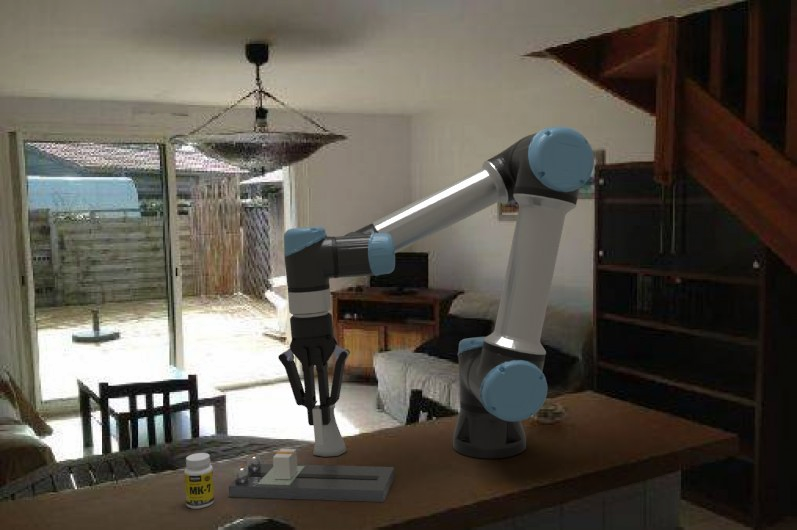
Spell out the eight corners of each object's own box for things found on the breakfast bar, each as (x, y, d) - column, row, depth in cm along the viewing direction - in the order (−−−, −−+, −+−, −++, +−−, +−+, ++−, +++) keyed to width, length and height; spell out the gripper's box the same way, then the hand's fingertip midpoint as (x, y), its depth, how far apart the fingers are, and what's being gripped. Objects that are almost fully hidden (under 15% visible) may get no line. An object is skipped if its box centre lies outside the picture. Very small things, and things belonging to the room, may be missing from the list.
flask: (341, 458, 139) (339, 410, 139) (307, 457, 141) (305, 409, 140) (351, 446, 146) (349, 400, 146) (318, 445, 148) (316, 400, 147)
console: (394, 477, 128) (393, 453, 128) (383, 502, 117) (382, 475, 117) (252, 473, 133) (250, 450, 133) (229, 496, 122) (227, 471, 122)
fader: (297, 470, 128) (296, 448, 127) (289, 479, 123) (288, 456, 123) (282, 469, 128) (280, 447, 128) (274, 478, 124) (272, 456, 124)
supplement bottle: (187, 511, 117) (184, 463, 116) (184, 501, 121) (181, 454, 120) (216, 505, 119) (213, 458, 118) (212, 495, 123) (209, 450, 122)
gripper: (351, 308, 125) (360, 434, 127) (282, 311, 127) (293, 435, 129) (340, 315, 118) (351, 449, 120) (268, 318, 120) (280, 449, 122)
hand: (321, 442), depth 124 cm, fingers closed
